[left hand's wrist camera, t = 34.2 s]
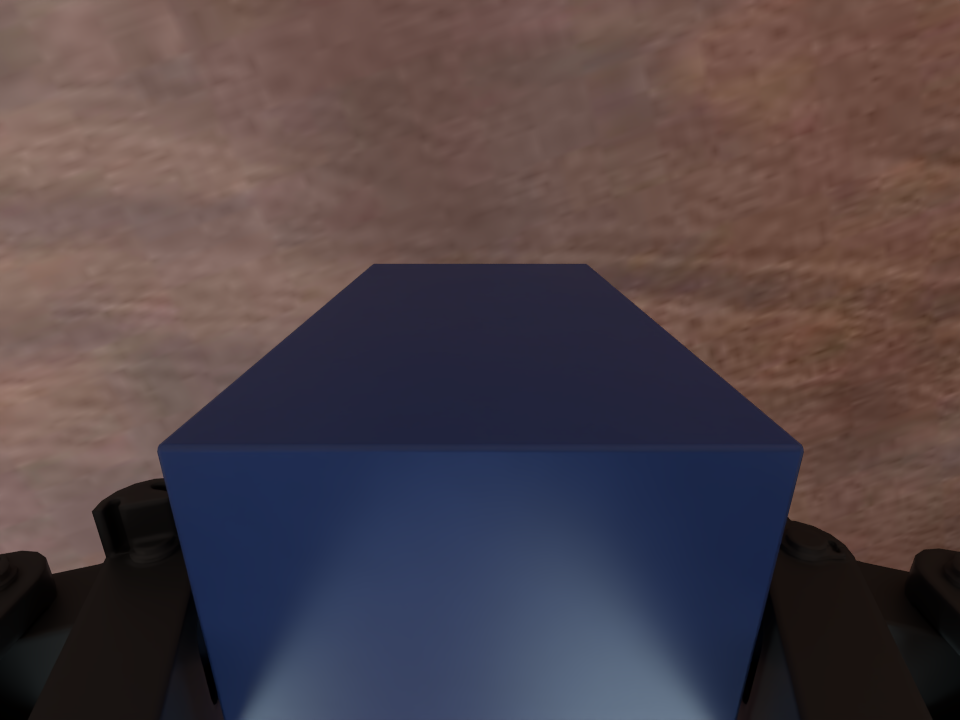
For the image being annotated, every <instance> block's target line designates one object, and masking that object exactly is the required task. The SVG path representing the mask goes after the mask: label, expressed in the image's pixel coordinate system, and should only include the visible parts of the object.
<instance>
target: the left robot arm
mask: <svg viewBox="0 0 960 720" xmlns="http://www.w3.org/2000/svg"><path fill="white" fill-rule="evenodd" d="M92 514H93V517H94V520H95V523H96V526H97V530H98V533H99V536H100V539H101V542H102V545H103V549H104V552H105V555H106V559H105V561H104V563H102V564H98V565H93V566H89V567H84V568H79V569H74V570H69V571H65V572H60V573H55V574H52V573H51V570H50V568H49V565H48V562H47V559H46V557H44V556H43V555H41V554H40V553H38V552H32V551H18V552H12V553H6V554H0V720H224V718H223V714H222V710H221V706H220V702H219V698H218V694H217V690H216V686H215V682H214V678H213V674H212V670H211V666H210V662H209V658H208V654H207V650H206V646H205V642H204V638H203V634H202V630H201V625H200V621H199V617H198V613H197V609H196V605H195V601H194V597H193V593H192V589H191V585H190V581H189V577H188V573H187V569H186V565H185V561H184V557H183V553H182V549H181V545H180V541H179V537H178V533H177V529H176V525H175V521H174V517H173V513H172V509H171V505H170V501H169V497H168V493H167V489H166V485H165V481H164V478H161V479H152V480H148V481H144V482H140V483H136V484H133V485H131V486H128V487H126V488H124V489H121V490H119V491H117V492H115V493H113V494H112V495H110V496H109V497H107V498H106V499H104V500H102V501H101V502H100V503H99V504H98V505H97V506H96V508H95V509H94V510H93V511H92ZM737 720H960V552H957V551H951V550H945V549H926V550H923V551H921V552H920V553H918V554H917V555H915V558H914V561H913V564H912V566H911V569H910V572H907V571H902V570H897V569H892V568H887V567H883V566H878V565H873V564H868V563H864V562H860V561H856V560H855V558H854V556H853V555H852V553H851V552H850V551H849V550H848V548H847V547H846V546H845V545H844V544H843V543H842V542H840V541H839V540H838V539H836V538H835V537H833V536H832V535H831V534H829V533H827V532H825V531H822V530H820V529H818V528H816V527H814V526H811V525H808V524H804V523H801V522H797V521H791V520H790V519H789V518H788V517H787V521H786V525H785V529H784V533H783V537H782V541H781V545H780V549H779V553H778V557H777V561H776V565H775V569H774V573H773V577H772V581H771V585H770V589H769V593H768V597H767V601H766V605H765V609H764V613H763V617H762V621H761V625H760V629H759V633H758V637H757V641H756V645H755V649H754V653H753V656H752V660H751V664H750V668H749V672H748V676H747V680H746V684H745V688H744V692H743V696H742V700H741V704H740V708H739V712H738V716H737Z"/></svg>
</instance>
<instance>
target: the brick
mask: <svg viewBox="0 0 960 720" xmlns="http://www.w3.org/2000/svg"><path fill="white" fill-rule="evenodd" d="M157 452H158V456H159V460H160V465H161V469H162V473H163V477H164V481H165V485H166V489H167V493H168V497H169V501H170V505H171V509H172V513H173V517H174V521H175V525H176V529H177V533H178V537H179V541H180V545H181V549H182V553H183V557H184V561H185V565H186V569H187V573H188V577H189V581H190V585H191V589H192V593H193V597H194V601H195V605H196V609H197V613H198V617H199V621H200V625H201V630H202V634H203V638H204V642H205V646H206V650H207V654H208V658H209V662H210V666H211V670H212V674H213V678H214V682H215V686H216V690H217V694H218V698H219V702H220V706H221V710H222V714H223V718H224V720H737V716H738V712H739V708H740V704H741V700H742V696H743V692H744V688H745V684H746V680H747V676H748V672H749V668H750V664H751V660H752V656H753V653H754V649H755V645H756V641H757V637H758V633H759V629H760V625H761V621H762V617H763V613H764V609H765V605H766V601H767V597H768V593H769V589H770V585H771V581H772V577H773V573H774V569H775V565H776V561H777V557H778V553H779V549H780V545H781V541H782V537H783V533H784V529H785V525H786V521H787V517H788V513H789V509H790V505H791V501H792V497H793V493H794V489H795V485H796V481H797V477H798V473H799V469H800V465H801V461H802V457H803V453H804V451H803V447H802V445H801V444H800V443H799V442H798V441H796V440H795V439H794V438H793V437H792V436H791V435H789V434H788V433H787V432H786V431H785V430H783V429H782V428H781V427H780V426H779V425H777V424H776V423H775V422H774V421H773V420H772V419H770V418H769V417H768V416H767V415H766V414H764V413H763V412H762V411H761V410H760V409H758V408H757V407H756V406H755V405H754V404H752V403H751V402H750V401H749V400H748V399H747V398H745V397H744V396H743V395H742V394H741V393H739V392H738V391H737V390H736V389H735V388H733V387H732V386H731V385H730V384H729V383H728V382H726V381H725V380H724V379H723V378H722V377H720V376H719V375H718V374H717V373H716V372H714V371H713V370H712V369H711V368H710V367H708V366H707V365H706V364H705V363H704V362H703V361H701V360H700V359H699V358H698V357H697V356H695V355H694V354H693V353H692V352H691V351H689V350H688V349H687V348H686V347H685V346H683V345H682V344H681V343H680V342H679V341H678V340H676V339H675V338H674V337H673V336H672V335H670V334H669V333H668V332H667V331H666V330H664V329H663V328H662V327H661V326H660V325H659V324H657V323H656V322H655V321H654V320H653V319H651V318H650V317H649V316H648V315H647V314H645V313H644V312H643V311H642V310H641V309H639V308H638V307H637V306H636V305H635V304H634V303H632V302H631V301H630V300H629V299H628V298H626V297H625V296H624V295H623V294H622V293H620V292H619V291H618V290H617V289H616V288H614V287H613V286H612V285H611V284H610V283H609V282H607V281H606V280H605V279H604V278H603V277H601V276H600V275H599V274H598V273H597V272H595V271H594V270H593V269H592V268H591V267H590V266H588V265H587V264H373V265H372V266H371V267H369V268H368V269H367V270H366V271H365V272H363V273H362V274H361V275H360V276H359V277H357V278H356V279H355V280H354V281H353V282H352V283H350V284H349V285H348V286H347V287H346V288H344V289H343V290H342V291H341V292H340V293H339V294H337V295H336V296H335V297H334V298H333V299H331V300H330V301H329V302H328V303H327V304H325V305H324V306H323V307H322V308H321V309H320V310H318V311H317V312H316V313H315V314H314V315H312V316H311V317H310V318H309V319H308V320H307V321H305V322H304V323H303V324H302V325H301V326H299V327H298V328H297V329H296V330H295V331H294V332H292V333H291V334H290V335H289V336H288V337H286V338H285V339H284V340H283V341H282V342H280V343H279V344H278V345H277V346H276V347H275V348H273V349H272V350H271V351H270V352H269V353H267V354H266V355H265V356H264V357H263V358H262V359H260V360H259V361H258V362H257V363H256V364H254V365H253V366H252V367H251V368H250V369H249V370H247V371H246V372H245V373H244V374H243V375H241V376H240V377H239V378H238V379H237V380H235V381H234V382H233V383H232V384H231V385H230V386H228V387H227V388H226V389H225V390H224V391H222V392H221V393H220V394H219V395H218V396H217V397H215V398H214V399H213V400H212V401H211V402H209V403H208V404H207V405H206V406H205V407H203V408H202V409H201V410H200V411H199V412H198V413H196V414H195V415H194V416H193V417H192V418H190V419H189V420H188V421H187V422H186V423H185V424H183V425H182V426H181V427H180V428H179V429H177V430H176V431H175V432H174V433H173V434H172V435H170V436H169V437H168V438H167V439H166V440H164V441H163V442H162V443H161V444H160V445H159V447H158V451H157Z"/></svg>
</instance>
